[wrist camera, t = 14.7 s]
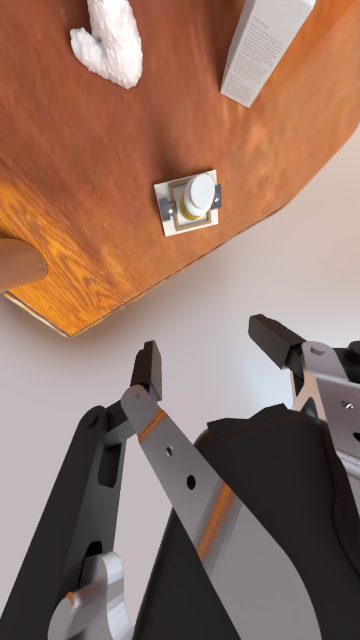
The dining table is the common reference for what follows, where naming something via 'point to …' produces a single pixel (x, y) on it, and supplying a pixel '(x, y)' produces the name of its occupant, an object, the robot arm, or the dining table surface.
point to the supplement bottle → (197, 197)
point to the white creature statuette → (110, 42)
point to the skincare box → (260, 44)
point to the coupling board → (174, 192)
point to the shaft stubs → (171, 207)
